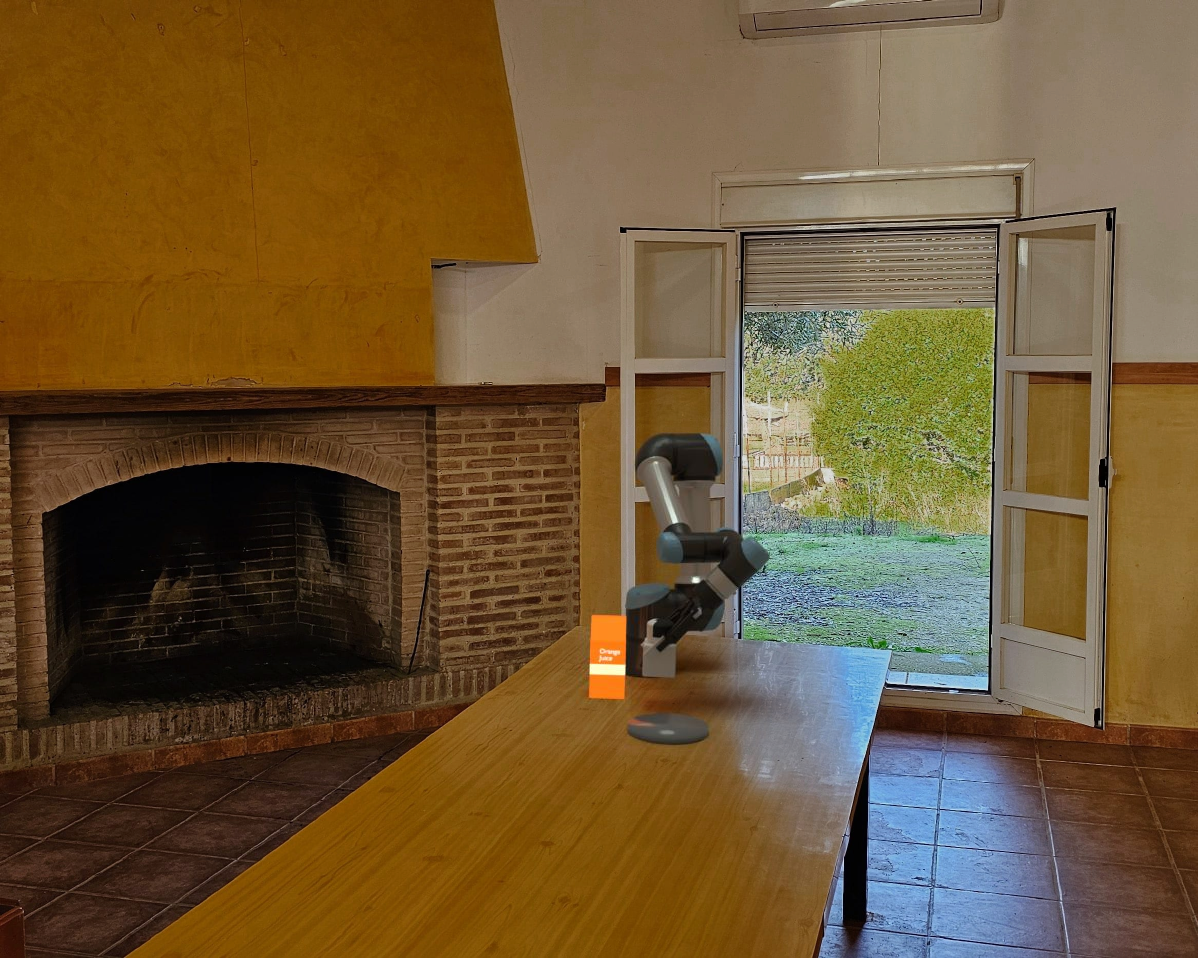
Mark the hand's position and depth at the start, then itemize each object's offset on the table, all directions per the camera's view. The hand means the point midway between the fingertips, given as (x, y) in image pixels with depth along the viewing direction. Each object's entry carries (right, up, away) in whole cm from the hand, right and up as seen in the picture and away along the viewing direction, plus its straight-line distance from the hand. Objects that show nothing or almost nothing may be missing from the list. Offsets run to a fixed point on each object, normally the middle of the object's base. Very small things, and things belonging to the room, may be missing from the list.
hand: (645, 653), depth 269 cm
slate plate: (+4, -14, -19) cm, 24 cm away
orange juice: (-9, -12, +10) cm, 18 cm away
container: (+3, -5, +1) cm, 6 cm away
